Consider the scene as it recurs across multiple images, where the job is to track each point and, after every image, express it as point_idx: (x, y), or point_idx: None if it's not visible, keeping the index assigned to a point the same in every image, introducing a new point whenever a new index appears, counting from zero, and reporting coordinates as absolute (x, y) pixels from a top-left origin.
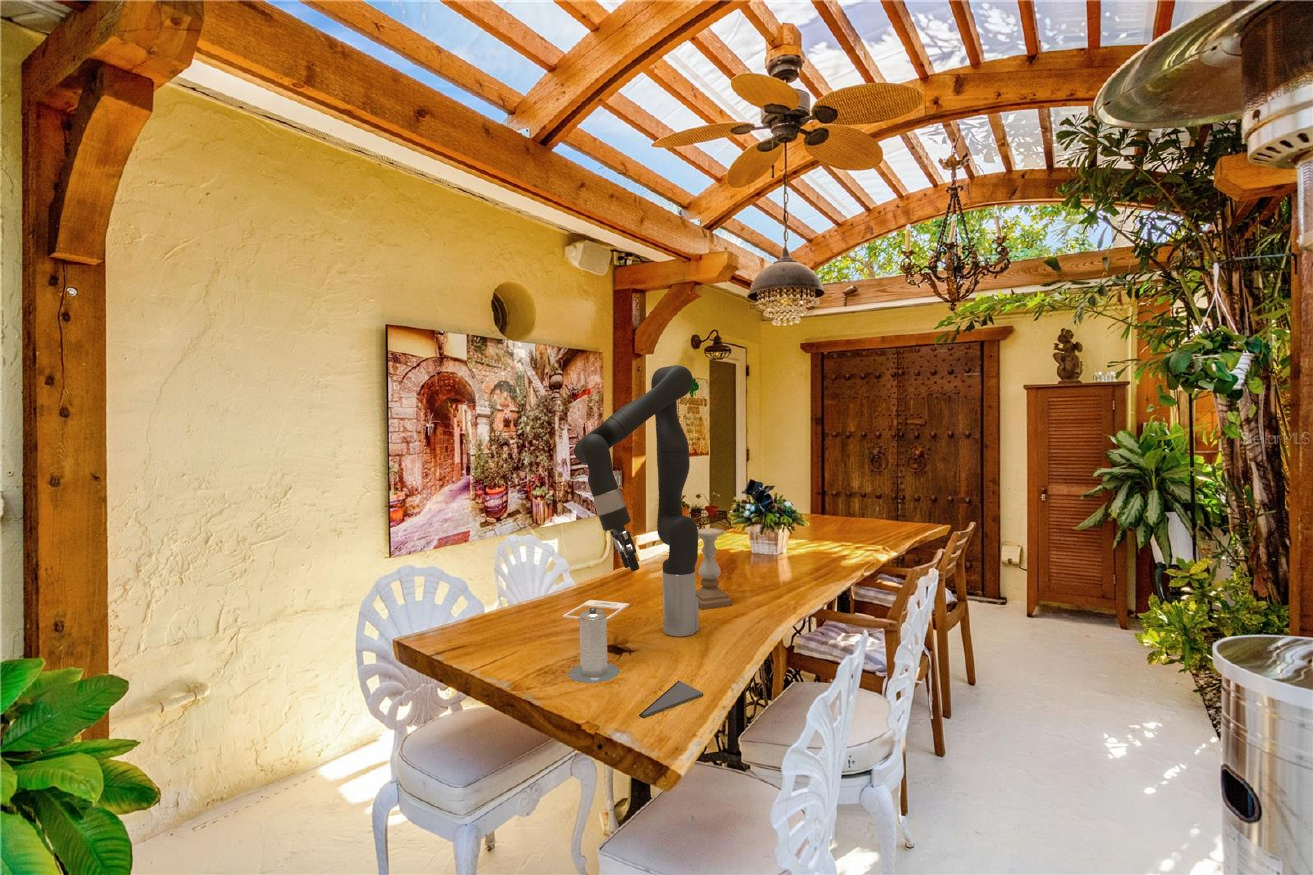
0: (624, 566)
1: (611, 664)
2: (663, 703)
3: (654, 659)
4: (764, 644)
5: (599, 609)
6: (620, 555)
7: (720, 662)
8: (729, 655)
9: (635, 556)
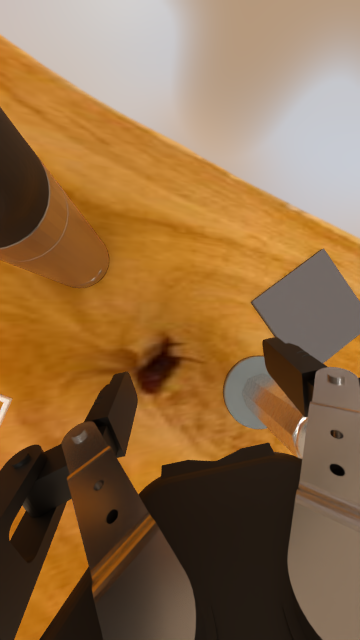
0: (136, 406)
1: (235, 370)
2: (348, 298)
3: (202, 307)
4: (152, 130)
5: (303, 429)
6: (119, 456)
7: (220, 211)
8: (194, 194)
9: (313, 365)
